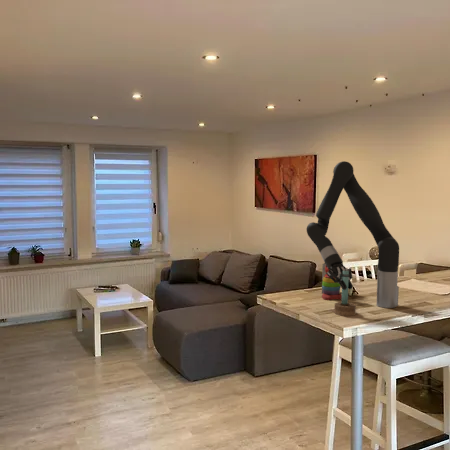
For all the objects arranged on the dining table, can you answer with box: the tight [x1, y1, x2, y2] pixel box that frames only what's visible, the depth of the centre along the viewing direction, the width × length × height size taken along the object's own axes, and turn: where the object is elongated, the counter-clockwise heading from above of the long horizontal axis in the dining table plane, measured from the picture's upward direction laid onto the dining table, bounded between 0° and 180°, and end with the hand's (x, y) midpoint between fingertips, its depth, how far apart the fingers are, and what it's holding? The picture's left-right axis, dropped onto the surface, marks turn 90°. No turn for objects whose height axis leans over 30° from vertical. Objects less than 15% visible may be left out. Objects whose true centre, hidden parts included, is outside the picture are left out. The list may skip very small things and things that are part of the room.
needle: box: [340, 271, 349, 304], centre depth 215 cm, size 3×3×15 cm
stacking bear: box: [321, 266, 342, 301], centre depth 245 cm, size 11×10×18 cm
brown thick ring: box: [334, 301, 357, 317], centre depth 216 cm, size 9×9×4 cm
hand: (348, 288), depth 213 cm, fingers closed on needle, 2 cm apart
